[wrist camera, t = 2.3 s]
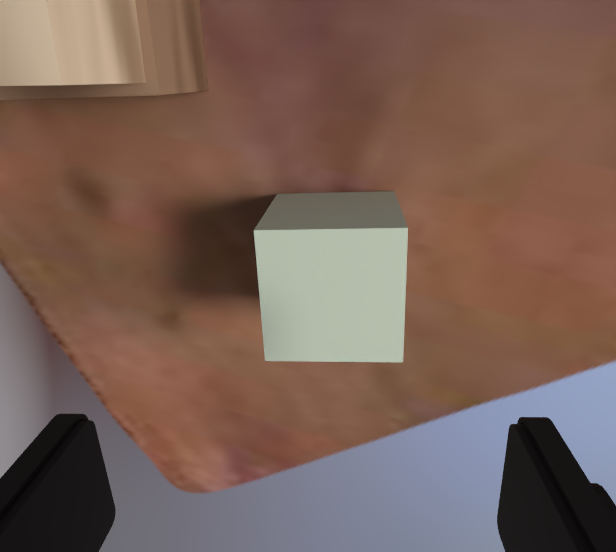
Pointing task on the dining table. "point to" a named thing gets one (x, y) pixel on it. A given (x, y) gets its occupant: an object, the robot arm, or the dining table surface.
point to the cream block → (147, 57)
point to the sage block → (332, 277)
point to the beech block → (69, 42)
